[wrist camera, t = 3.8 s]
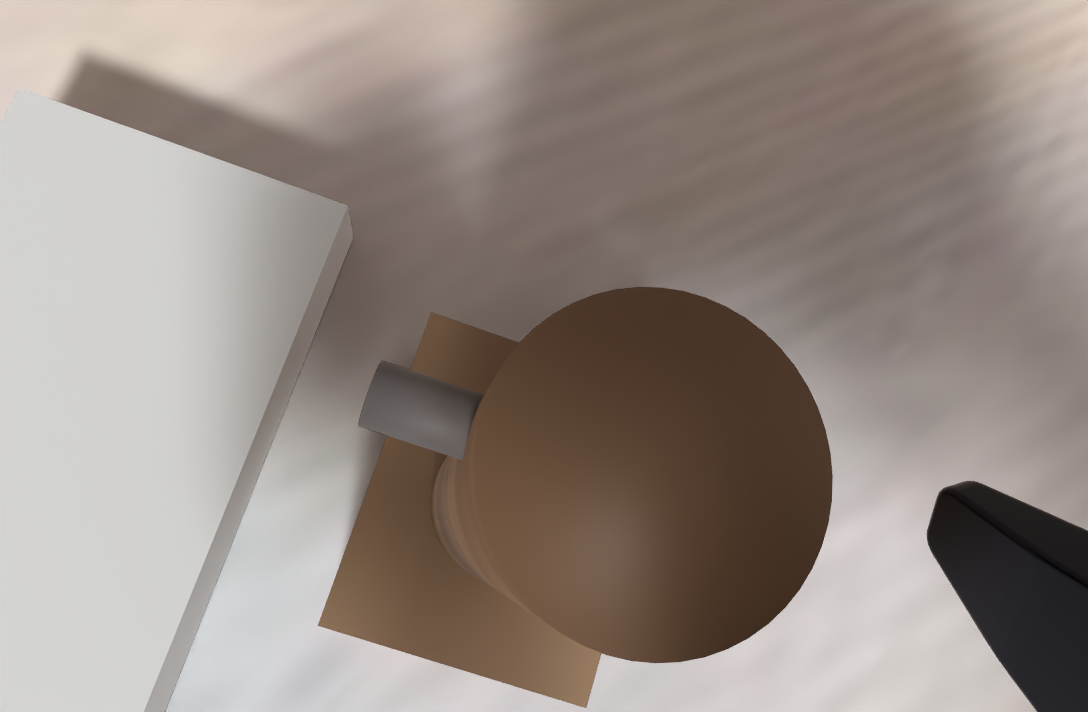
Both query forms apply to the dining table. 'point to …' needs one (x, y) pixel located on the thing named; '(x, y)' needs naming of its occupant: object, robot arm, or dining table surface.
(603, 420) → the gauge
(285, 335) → the board
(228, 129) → the dining table surface
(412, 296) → the dining table surface
